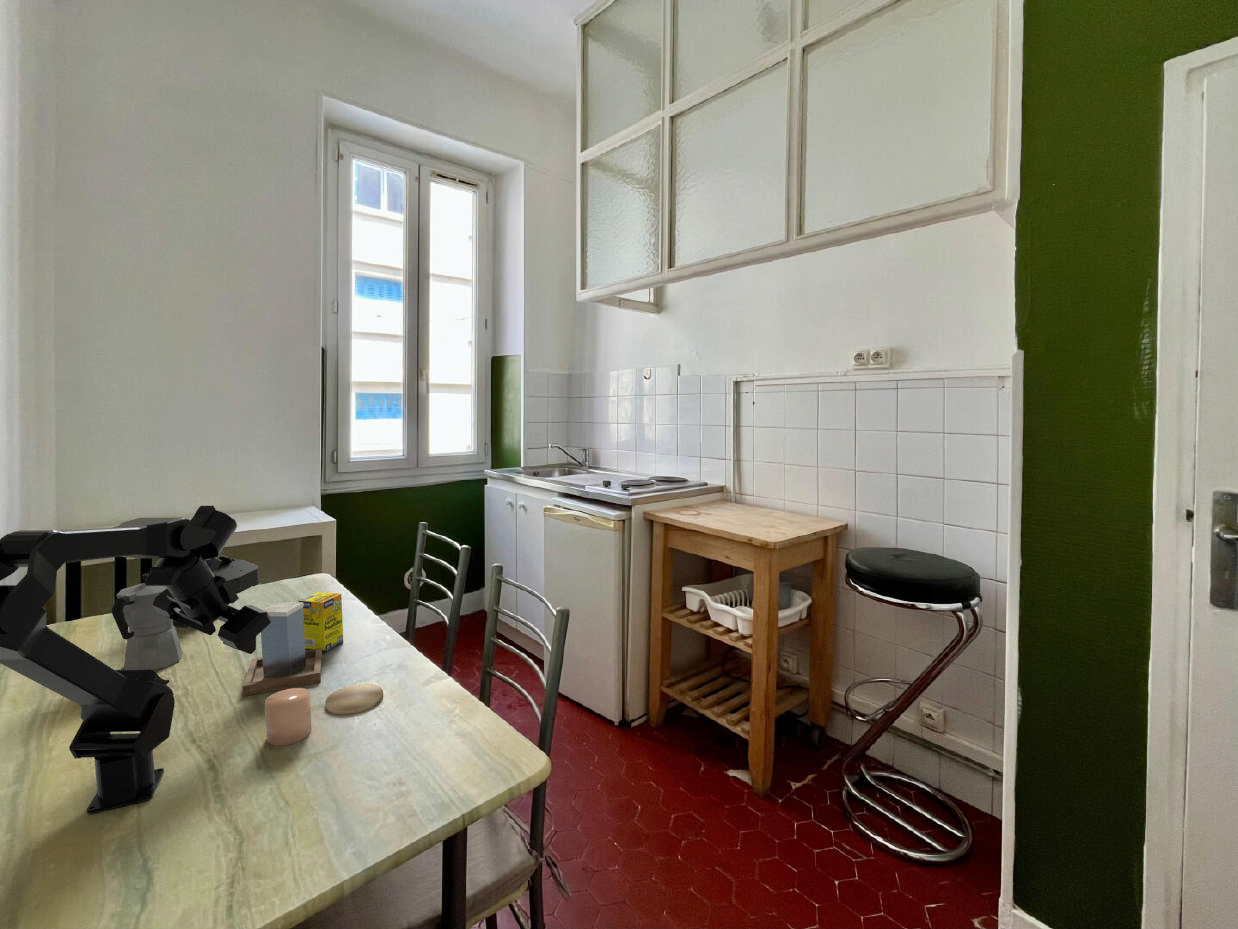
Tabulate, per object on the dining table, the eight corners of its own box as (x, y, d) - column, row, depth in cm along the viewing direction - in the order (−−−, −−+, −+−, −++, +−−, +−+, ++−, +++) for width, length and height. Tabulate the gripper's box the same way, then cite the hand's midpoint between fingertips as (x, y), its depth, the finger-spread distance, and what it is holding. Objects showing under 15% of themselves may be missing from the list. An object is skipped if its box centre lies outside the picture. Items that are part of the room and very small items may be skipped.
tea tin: (290, 678, 106) (286, 612, 104) (262, 678, 106) (258, 611, 105) (306, 665, 111) (303, 602, 110) (280, 665, 111) (276, 601, 110)
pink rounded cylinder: (313, 737, 88) (312, 700, 88) (268, 750, 85) (266, 711, 84) (309, 720, 93) (307, 684, 93) (265, 731, 90) (264, 694, 89)
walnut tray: (320, 682, 106) (320, 672, 106) (243, 696, 101) (242, 686, 100) (322, 656, 117) (321, 647, 116) (252, 668, 111) (251, 659, 111)
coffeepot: (152, 649, 120) (145, 564, 118) (200, 647, 120) (194, 563, 119) (92, 685, 104) (83, 588, 102) (148, 683, 105) (140, 587, 103)
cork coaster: (385, 707, 97) (384, 702, 97) (325, 719, 93) (325, 714, 93) (381, 683, 105) (381, 679, 105) (326, 694, 101) (325, 690, 101)
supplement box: (325, 654, 118) (322, 602, 116) (299, 651, 119) (296, 600, 118) (344, 642, 123) (342, 593, 122) (320, 640, 125) (317, 591, 123)
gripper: (280, 563, 91) (311, 623, 101) (196, 529, 96) (233, 589, 106) (218, 618, 83) (258, 677, 93) (129, 577, 88) (176, 637, 98)
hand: (232, 642), depth 97 cm, fingers open, 9 cm apart
